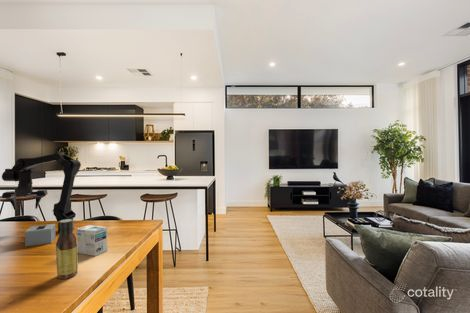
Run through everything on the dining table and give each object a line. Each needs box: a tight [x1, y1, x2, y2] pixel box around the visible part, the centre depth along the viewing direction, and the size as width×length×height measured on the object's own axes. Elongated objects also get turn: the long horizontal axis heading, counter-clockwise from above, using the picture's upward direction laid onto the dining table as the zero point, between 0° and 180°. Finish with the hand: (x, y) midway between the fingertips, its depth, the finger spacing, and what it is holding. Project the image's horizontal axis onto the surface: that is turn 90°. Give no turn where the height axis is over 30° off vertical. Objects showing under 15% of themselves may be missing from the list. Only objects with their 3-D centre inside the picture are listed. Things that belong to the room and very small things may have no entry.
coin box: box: [24, 223, 57, 247], centre depth 126 cm, size 10×9×7 cm
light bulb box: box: [76, 224, 108, 257], centre depth 113 cm, size 11×7×11 cm, turn 71°
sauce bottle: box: [55, 219, 79, 280], centre depth 92 cm, size 6×6×20 cm
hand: (26, 209), depth 143 cm, fingers open, 9 cm apart
